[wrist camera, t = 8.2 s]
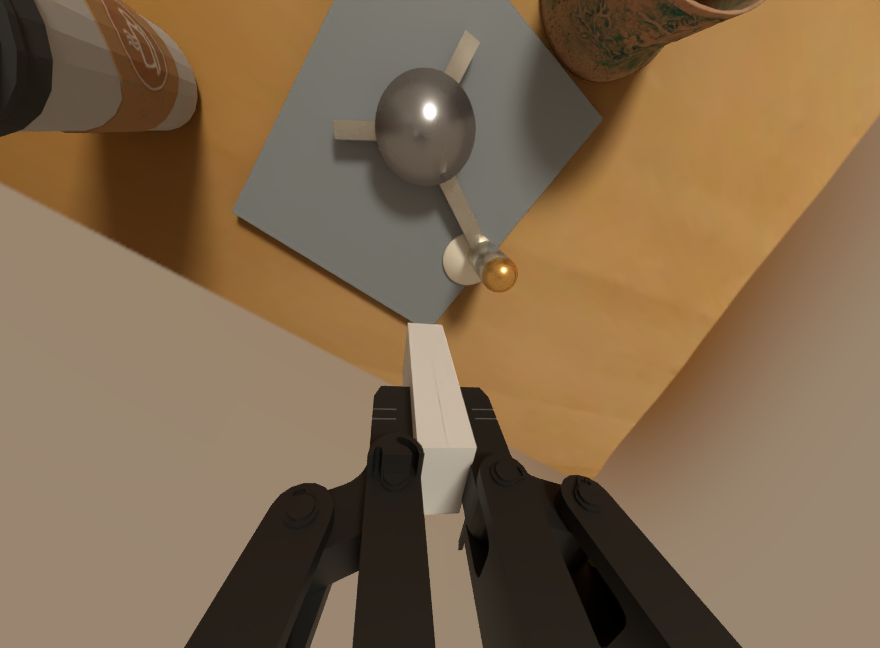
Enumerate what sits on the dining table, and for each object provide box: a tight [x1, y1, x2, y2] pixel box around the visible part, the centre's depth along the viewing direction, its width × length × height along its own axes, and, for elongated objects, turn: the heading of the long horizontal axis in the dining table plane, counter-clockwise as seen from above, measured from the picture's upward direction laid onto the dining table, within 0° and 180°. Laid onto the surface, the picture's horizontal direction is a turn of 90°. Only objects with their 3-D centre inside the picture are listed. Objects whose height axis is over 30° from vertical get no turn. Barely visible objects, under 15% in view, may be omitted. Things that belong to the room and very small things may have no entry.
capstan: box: [333, 30, 518, 292], centre depth 23 cm, size 16×12×7 cm
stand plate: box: [232, 0, 603, 324], centre depth 26 cm, size 21×24×2 cm
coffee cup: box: [0, 0, 198, 137], centre depth 16 cm, size 8×8×15 cm
